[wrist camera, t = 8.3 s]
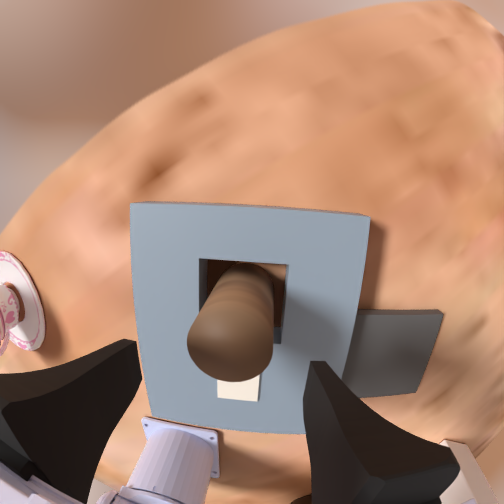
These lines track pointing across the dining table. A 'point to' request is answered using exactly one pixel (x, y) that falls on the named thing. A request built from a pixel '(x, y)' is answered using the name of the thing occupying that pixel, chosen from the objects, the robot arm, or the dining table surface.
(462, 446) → the milk carton
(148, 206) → the hole plate
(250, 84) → the dining table surface
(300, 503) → the olive oil
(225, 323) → the walnut peg
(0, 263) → the teacup
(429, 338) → the pad
